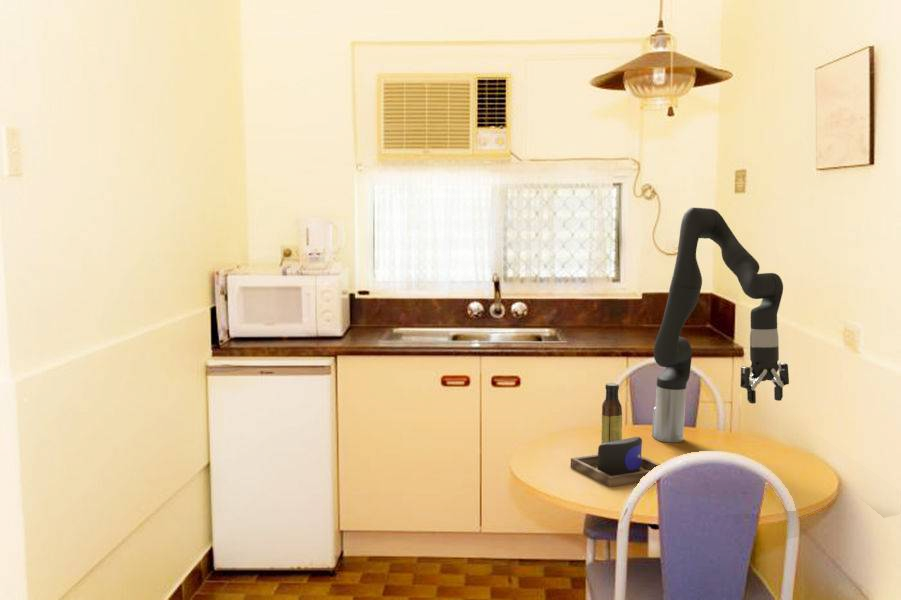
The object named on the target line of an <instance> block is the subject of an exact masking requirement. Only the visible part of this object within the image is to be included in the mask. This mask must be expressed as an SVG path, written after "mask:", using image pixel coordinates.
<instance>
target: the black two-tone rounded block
mask: <svg viewBox="0 0 901 600" xmlns="http://www.w3.org/2000/svg"><path fill="white" fill-rule="evenodd" d="M642 447H643V439H642V438H641V437H640V436H634V437H629V438H622V440H617V441H612V442H606V443H602V442H601V443H600V445H599V446H598V448H597V455H598V464H597V465H596V466H597V467H596V469H598V470H600V471H602V472H604V473H606V474H608V475H610V476H615V475H621V474H628V473H634V472H639V470H640V469H641V468H642V467H641V456H642V449H643V448H642Z"/></svg>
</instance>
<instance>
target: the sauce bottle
mask: <svg viewBox="0 0 901 600" xmlns="http://www.w3.org/2000/svg"><path fill="white" fill-rule="evenodd" d="M604 387H605V399H604V400H603V402H602V404H601V405H602V406H601V444H602V443H606V442H612V441H617V440H622V439H623V411H622V409H623V407H622V404H621V401H620V400H619V390H620V385H619V383H615V382H609V383H605V386H604Z"/></svg>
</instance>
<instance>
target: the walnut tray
mask: <svg viewBox="0 0 901 600" xmlns="http://www.w3.org/2000/svg"><path fill="white" fill-rule="evenodd" d="M658 465H661V464H660V463H657V462H655V461H653V460H651V459H649V458H646V457H644V456H642V455H641V467H640V468H643V469H645V470H641V471H637V472H634V473H628V474H621V475H615V476H610V475H608V474H606V473H604V472H602V471H600V470H598V469H597V467H596V468H595V467H594V466H598V454H592V455H584V456H577V457H571V458H570V468H571V469H574V470H575V471H578V472H580V473H582V474H583V475H586V476H588V477H590V478H591V479H593V480H595V481H597V482H599V483H600V484H604V485H605V486H607V487H608V488H611V487H612V488H613V487H617V486H626V485H630V484H631V485H632V484H637V483H640V482H639V481H640V479H641V478H642V477H643V476H645V475H646V474H647V473H648V472H649V471H651V470H652V469H653V468H654V467H656V466H658Z"/></svg>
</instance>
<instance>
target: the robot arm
mask: <svg viewBox="0 0 901 600" xmlns="http://www.w3.org/2000/svg"><path fill="white" fill-rule="evenodd" d="M679 230H680V231H679V237H678V247H677V254H676V259H675V264H674V270H673V274H672V277H671V281H670V286H669V291H668V296H667V301H666V306H665V309H664V313H663V317H662V322H661V325H660V328H659V331H658V334H657V336H656V339H655V342H654V346H653V359H654V361H655V362H656V364H657V365H658V366H659V367H662V368H665V369H664V371H663V372H662V373H661V374H660V375H658V377H656V378H657V379H656V390H655V391H656V392H655V407H653V409H652V426H651V427H652V428H651V429H652V430H651V436H652V437H653V438H654V439H655V440H657V441H659V442H664V443H679V442H680V443H681V442H683V440H684V432H685V431H684V428H685V417H686V416H685V413H686V399H687V398H686V395H687V385H688V381H689V379H690V375H691V367H692V359H693V358H692V357H693V355H692V347H691V343H690V342H689V341H688V339H686V338H685V337H683V336H680V335H681V332H682V329H683V326H684V325H685V323H686V321H687V320H688V318H689V317H690V315H691V314H692V312H693V311H694V310H695V308H696V306H697V304H698V301H699V299H700V294H701V290H702V285H703V277H702V274H701V273H702V272H701V270H700V267H699V263H698V261H697V249H698V243H699V239H704V240H705V239H710V240H711V241H712V242H714V243H715V244H717V245H718V247H720V252H721V258H722V261H723V262H724V264H725V266H726V267H727V268H728V269H729V270H730V271H731V272H732V273H733V274H734V275H735V277H736V278H737V280H738V282H739V285H740V287H741V289H742V291H743V294H744V295H746V296H747V297H749V298H750V299H753V300H761V299H762V300H761V302H760V304H759V306H756V307H754V308H752V309H751V311H750V333H749V360H750V362H751V365H750V366H741V367H740V385H739V387H741V388H742V389H746V390H747V391H746V392H747V393H746V395H747V401H748V403H750V404H756V402H757V399H756V398H757V395H756V390H755V389H756V388H757V386H758V385H760V383H761V382H765V381H771V382H772V384H773V386H774V390H773V393H774V400H775V401H777V402H779V401H782V399H783V397H784V394H783V392H784V389H783V388H784V387H785V386H786V385H787V386H788V385H790V377H789V365H788V364H787V363H785V362H784V363H783V362H779V363H778V361H779V359H780V358H779V355H780V352H779V351H780V350H779V347H780V346H779V345H780V344H779V343H780V342H779V331H778V312H779V308H780V305H781V300H782V297H783V291H784V283H783V280H782V278H781V277H780V276H779V274H777V273H774V272H764V273H759V271H760V265H759V262H758V260H757V259H756V258H755V257H754V256H753V255H752V254H751V253H750V252H749V250H747V249H746V248H745V247H744V246H743V245H742V244H741V243H740V242H739V239H737V237H736V235H734V233H733V231H732V230H731V228H730V227H729V225H728V223H727V221H726V220H725V219H724V217H723V216H722V215H721V213H720V212H719V211H717V210H716V209H714V208H705V207H689V208H688V209H687V210H686V211H685V212H684V214H683V216H682V219H681V223H680V228H679Z"/></svg>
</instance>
